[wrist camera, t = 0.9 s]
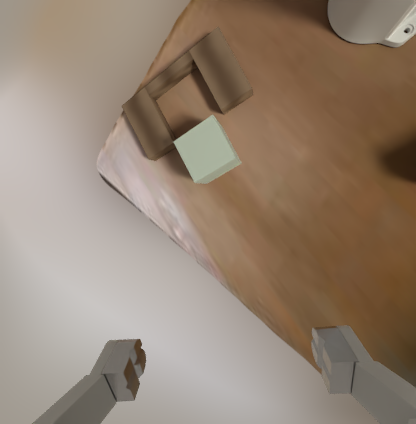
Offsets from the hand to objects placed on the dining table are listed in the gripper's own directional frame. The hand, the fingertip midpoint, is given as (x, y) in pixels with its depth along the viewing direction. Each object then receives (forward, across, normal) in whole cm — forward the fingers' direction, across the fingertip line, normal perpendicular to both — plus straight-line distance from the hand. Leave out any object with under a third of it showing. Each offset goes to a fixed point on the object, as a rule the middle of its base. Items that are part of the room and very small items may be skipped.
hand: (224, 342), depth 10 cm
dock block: (+46, +6, -16) cm, 49 cm away
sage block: (+42, +1, -4) cm, 42 cm away
